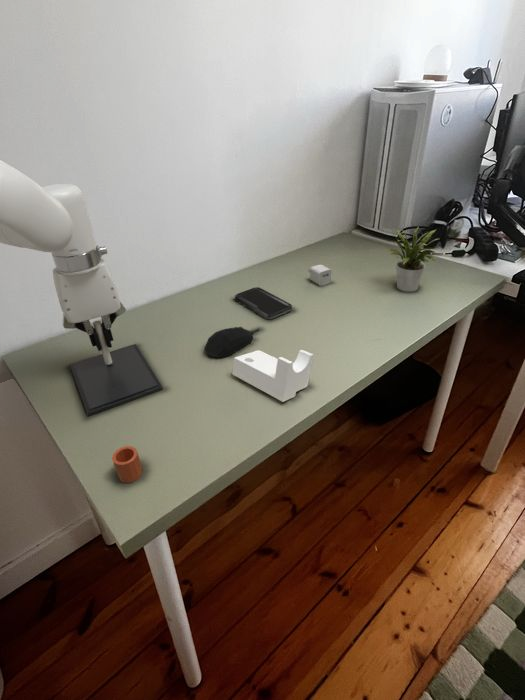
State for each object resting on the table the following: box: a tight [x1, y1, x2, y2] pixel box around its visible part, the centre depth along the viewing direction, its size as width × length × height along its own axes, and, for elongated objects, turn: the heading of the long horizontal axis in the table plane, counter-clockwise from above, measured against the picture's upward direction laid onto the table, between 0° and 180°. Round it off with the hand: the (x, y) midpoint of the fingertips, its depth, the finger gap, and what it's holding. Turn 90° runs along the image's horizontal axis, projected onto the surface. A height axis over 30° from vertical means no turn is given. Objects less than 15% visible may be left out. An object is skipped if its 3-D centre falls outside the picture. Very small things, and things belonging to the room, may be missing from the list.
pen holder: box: [111, 445, 143, 484], centre depth 65 cm, size 4×4×4 cm
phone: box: [234, 286, 293, 320], centre depth 109 cm, size 8×1×15 cm
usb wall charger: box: [307, 263, 333, 287], centre depth 119 cm, size 4×7×4 cm, turn 29°
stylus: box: [92, 320, 112, 365], centre depth 86 cm, size 1×1×10 cm
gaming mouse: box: [204, 326, 260, 358], centre depth 94 cm, size 6×15×4 cm, turn 134°
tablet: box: [69, 343, 164, 417], centre depth 86 cm, size 14×18×1 cm
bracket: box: [231, 349, 314, 403], centre depth 82 cm, size 13×7×8 cm, turn 47°
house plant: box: [384, 225, 439, 293], centre depth 109 cm, size 14×14×16 cm
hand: (103, 345), depth 87 cm, fingers closed on stylus, 1 cm apart
